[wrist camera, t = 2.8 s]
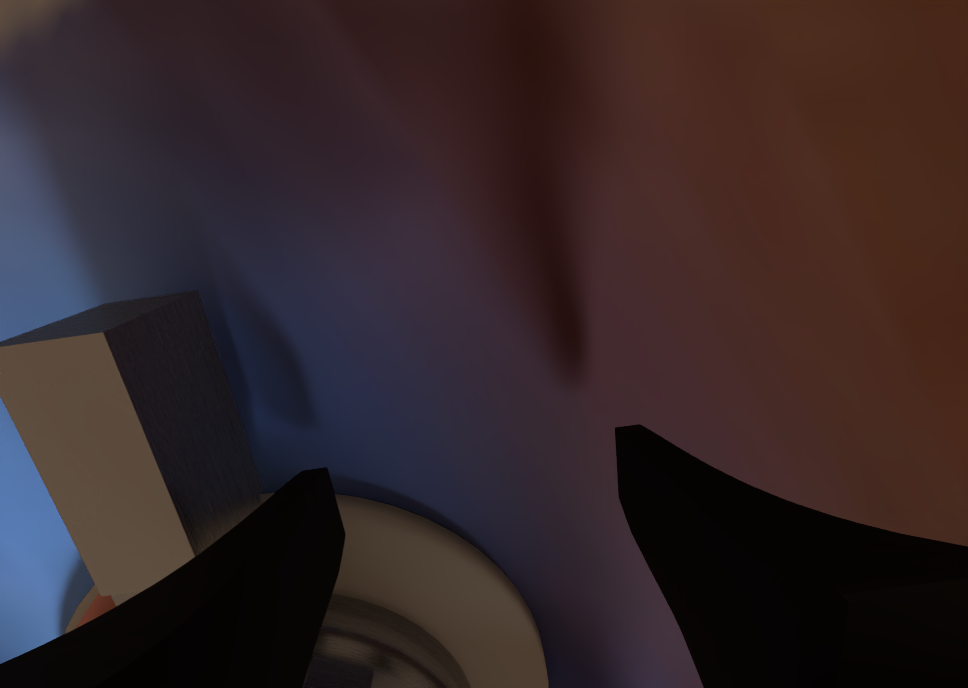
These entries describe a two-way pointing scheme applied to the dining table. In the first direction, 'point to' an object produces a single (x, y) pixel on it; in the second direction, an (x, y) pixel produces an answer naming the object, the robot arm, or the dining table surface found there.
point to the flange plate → (425, 592)
